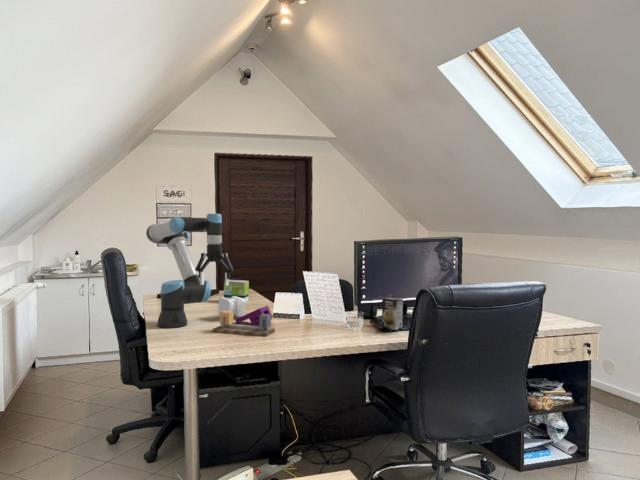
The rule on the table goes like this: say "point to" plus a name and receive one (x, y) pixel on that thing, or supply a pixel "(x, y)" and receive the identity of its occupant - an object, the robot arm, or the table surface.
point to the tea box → (237, 289)
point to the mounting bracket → (255, 316)
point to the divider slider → (226, 318)
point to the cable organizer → (232, 305)
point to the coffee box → (392, 312)
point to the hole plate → (243, 331)
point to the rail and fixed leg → (263, 325)
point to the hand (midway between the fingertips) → (214, 285)
